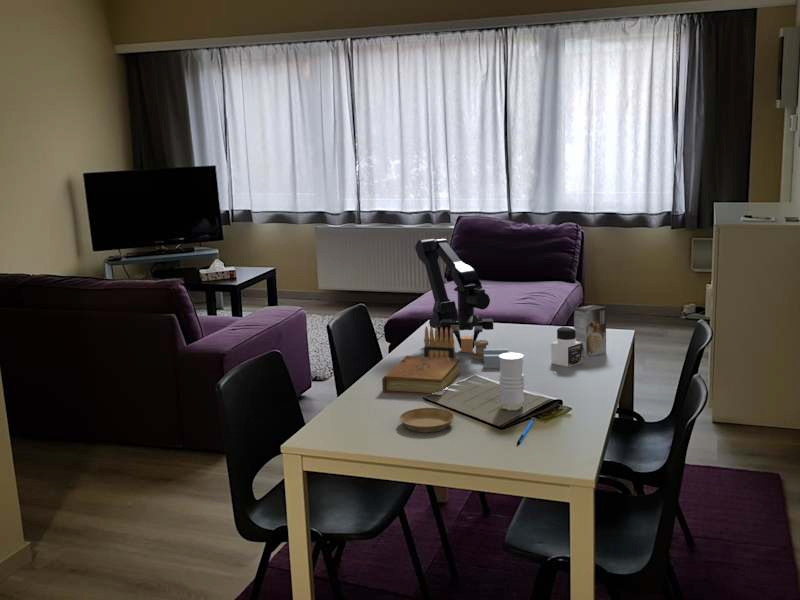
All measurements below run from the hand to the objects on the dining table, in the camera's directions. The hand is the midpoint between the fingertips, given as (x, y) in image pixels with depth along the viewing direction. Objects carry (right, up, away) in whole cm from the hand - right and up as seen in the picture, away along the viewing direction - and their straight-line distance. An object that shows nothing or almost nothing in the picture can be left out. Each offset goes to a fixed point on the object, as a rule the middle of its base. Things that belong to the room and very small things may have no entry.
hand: (467, 348), depth 301 cm
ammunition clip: (-10, -4, -11) cm, 15 cm away
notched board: (+8, -4, -17) cm, 20 cm away
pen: (+9, -18, -80) cm, 83 cm away
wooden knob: (+4, -3, -9) cm, 10 cm away
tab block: (0, -1, 0) cm, 1 cm away
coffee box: (+41, -1, -9) cm, 42 cm away
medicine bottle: (+31, -4, -20) cm, 37 cm away
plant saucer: (-16, -17, -72) cm, 76 cm away
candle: (+8, -13, -61) cm, 63 cm away
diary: (-16, -10, -34) cm, 39 cm away
